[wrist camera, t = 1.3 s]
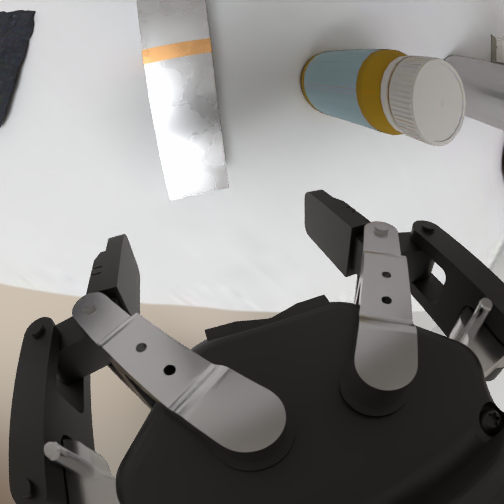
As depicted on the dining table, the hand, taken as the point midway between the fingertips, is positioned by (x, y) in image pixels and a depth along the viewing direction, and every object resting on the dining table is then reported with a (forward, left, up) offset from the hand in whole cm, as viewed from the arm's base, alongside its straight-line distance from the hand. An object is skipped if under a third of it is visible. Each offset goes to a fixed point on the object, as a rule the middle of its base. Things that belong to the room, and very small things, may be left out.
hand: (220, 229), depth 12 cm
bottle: (-15, -5, -17) cm, 23 cm away
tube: (0, -7, -17) cm, 18 cm away
